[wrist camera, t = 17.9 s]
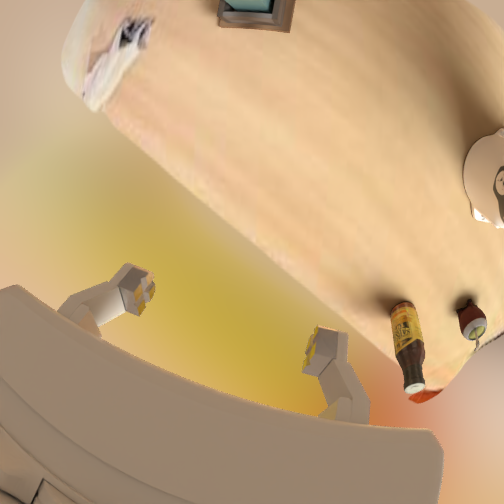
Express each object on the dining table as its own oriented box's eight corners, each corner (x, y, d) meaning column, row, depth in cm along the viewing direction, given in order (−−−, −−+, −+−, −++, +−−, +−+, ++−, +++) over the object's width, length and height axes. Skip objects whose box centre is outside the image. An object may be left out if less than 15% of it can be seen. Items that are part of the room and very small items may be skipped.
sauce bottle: (400, 297, 51) (416, 375, 35) (420, 305, 51) (439, 380, 35) (383, 317, 55) (392, 393, 39) (404, 324, 55) (416, 398, 38)
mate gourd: (474, 316, 48) (492, 363, 36) (449, 322, 51) (464, 371, 39) (481, 293, 45) (504, 341, 33) (455, 299, 48) (474, 350, 35)
